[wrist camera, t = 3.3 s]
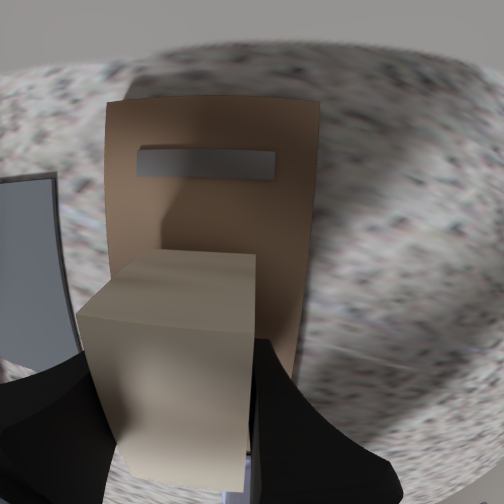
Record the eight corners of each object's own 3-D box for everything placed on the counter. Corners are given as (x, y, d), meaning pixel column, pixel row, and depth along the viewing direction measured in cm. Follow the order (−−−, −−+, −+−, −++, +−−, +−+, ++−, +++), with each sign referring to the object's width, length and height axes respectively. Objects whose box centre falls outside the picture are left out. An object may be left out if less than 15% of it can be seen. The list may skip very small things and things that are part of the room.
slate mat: (90, 383, 16) (88, 386, 15) (-11, 350, 16) (-13, 352, 15) (54, 178, 12) (51, 178, 12) (-47, 190, 12) (-50, 191, 12)
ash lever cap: (247, 400, 13) (243, 492, 8) (161, 392, 13) (131, 476, 8) (255, 254, 11) (254, 333, 6) (145, 248, 11) (75, 314, 6)
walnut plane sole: (276, 436, 16) (277, 453, 15) (150, 425, 16) (144, 441, 15) (313, 106, 11) (321, 100, 10) (119, 106, 11) (104, 101, 10)
